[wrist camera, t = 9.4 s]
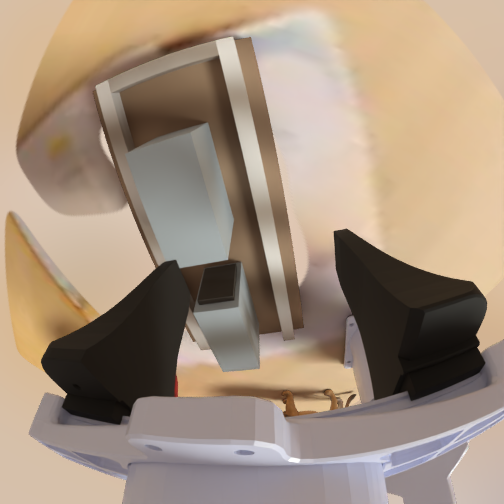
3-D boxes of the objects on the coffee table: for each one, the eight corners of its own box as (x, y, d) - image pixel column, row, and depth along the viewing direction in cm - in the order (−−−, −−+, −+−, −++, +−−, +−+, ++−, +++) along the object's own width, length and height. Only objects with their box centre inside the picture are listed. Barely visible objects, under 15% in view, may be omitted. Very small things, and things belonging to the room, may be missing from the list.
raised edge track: (301, 316, 26) (310, 371, 21) (195, 330, 28) (185, 382, 22) (251, 41, 14) (249, 15, 8) (102, 90, 15) (48, 97, 10)
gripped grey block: (208, 122, 16) (190, 132, 11) (235, 224, 20) (229, 265, 15) (157, 137, 16) (124, 154, 12) (188, 234, 20) (172, 275, 16)
